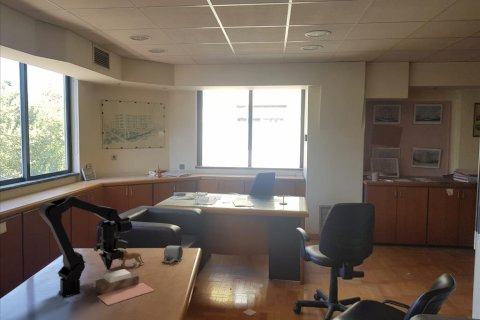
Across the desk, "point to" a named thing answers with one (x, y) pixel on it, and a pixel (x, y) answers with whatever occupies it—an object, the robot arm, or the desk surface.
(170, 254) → the ceramic mug
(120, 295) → the mat
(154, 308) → the desk surface
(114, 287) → the brown long block
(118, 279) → the white flat block
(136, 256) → the lion figurine
